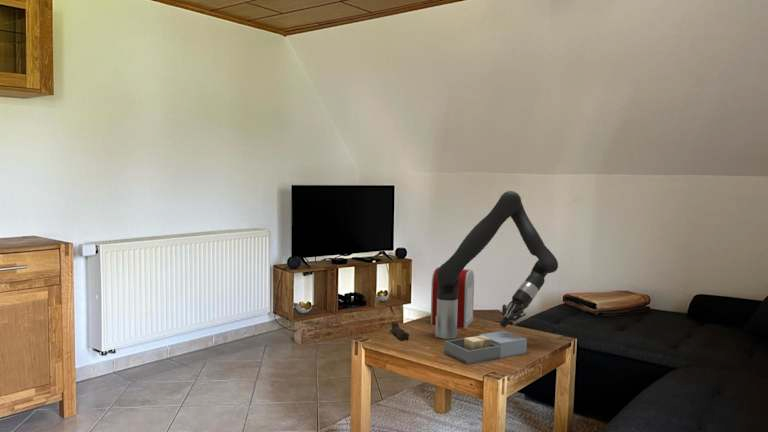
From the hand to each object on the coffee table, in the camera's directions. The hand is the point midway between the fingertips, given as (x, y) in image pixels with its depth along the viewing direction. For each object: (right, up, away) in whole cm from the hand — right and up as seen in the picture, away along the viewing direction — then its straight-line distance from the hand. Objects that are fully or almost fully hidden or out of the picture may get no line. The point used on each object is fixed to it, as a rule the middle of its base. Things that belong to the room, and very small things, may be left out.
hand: (501, 326), depth 249 cm
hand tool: (-43, -9, +23) cm, 49 cm away
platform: (0, -11, +1) cm, 11 cm away
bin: (-13, -11, -6) cm, 18 cm away
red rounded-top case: (-15, -7, +47) cm, 50 cm away
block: (-7, -7, -4) cm, 10 cm away
